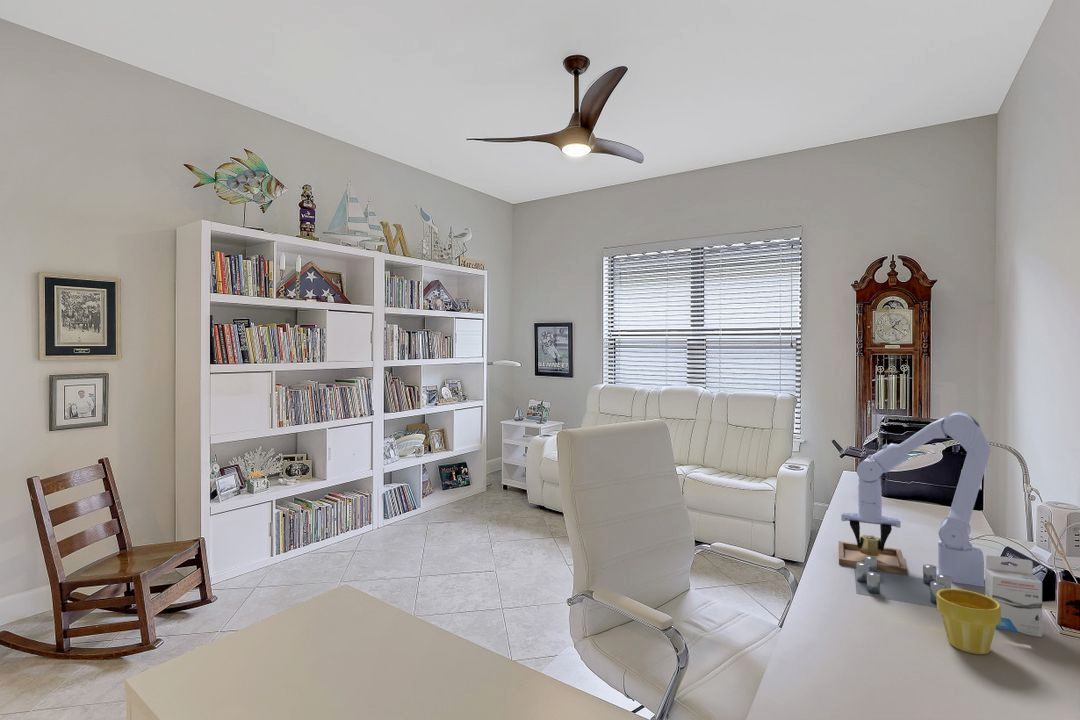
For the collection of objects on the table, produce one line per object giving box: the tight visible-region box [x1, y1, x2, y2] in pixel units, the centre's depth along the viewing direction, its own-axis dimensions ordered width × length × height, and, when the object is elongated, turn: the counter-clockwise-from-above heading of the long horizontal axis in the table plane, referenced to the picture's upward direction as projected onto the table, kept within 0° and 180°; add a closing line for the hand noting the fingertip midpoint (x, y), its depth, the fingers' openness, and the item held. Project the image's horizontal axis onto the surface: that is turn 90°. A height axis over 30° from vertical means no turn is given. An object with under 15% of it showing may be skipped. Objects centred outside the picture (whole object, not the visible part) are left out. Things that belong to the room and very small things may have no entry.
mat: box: [853, 567, 937, 609], centre depth 137 cm, size 21×18×1 cm
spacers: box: [855, 556, 952, 605], centre depth 137 cm, size 20×15×4 cm
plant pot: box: [936, 588, 1001, 655], centre depth 111 cm, size 10×10×10 cm
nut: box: [860, 534, 881, 556], centre depth 156 cm, size 4×5×5 cm
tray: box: [838, 540, 908, 576], centre depth 156 cm, size 16×16×2 cm
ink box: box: [984, 554, 1043, 638], centre depth 117 cm, size 9×5×15 cm, turn 65°
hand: (870, 548), depth 156 cm, fingers closed on nut, 5 cm apart
